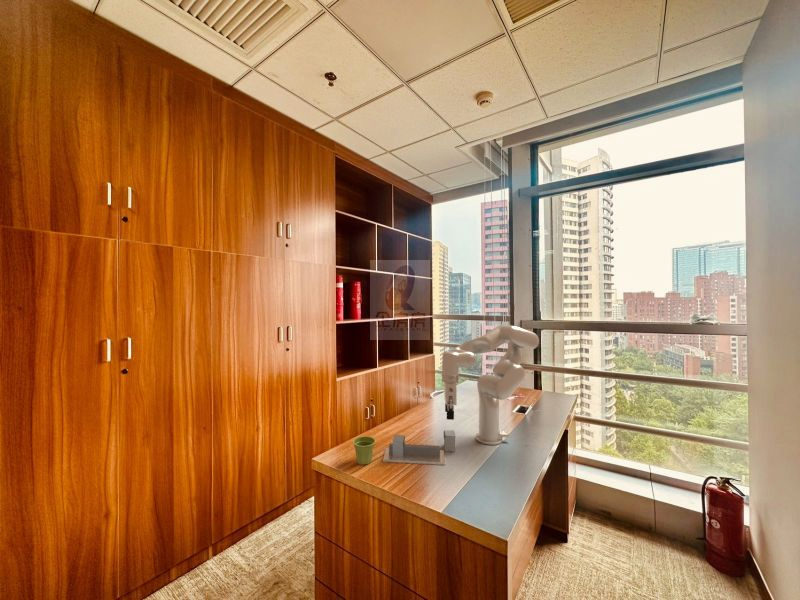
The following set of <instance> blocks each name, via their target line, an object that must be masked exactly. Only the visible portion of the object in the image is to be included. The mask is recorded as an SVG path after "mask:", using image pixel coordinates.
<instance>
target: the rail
mask: <svg viewBox="0 0 800 600" xmlns="http://www.w3.org/2000/svg"><path fill="white" fill-rule="evenodd" d="M382 462H383V463H399V464H415V465H416V464H419V465H423V464H424V465H436V466H437V465H438V466H439V465H441V466H446V458H445V449H441V445H432V444H431V445H430V444H429V445H427V444H411V443H410V444H409V443H407V444H406V435H404V434H393V438H392V443H389V444H388V446H387V447H386V448H385V451H384V454H383V459H382Z"/></svg>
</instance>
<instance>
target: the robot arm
mask: <svg viewBox="0 0 800 600" xmlns="http://www.w3.org/2000/svg"><path fill="white" fill-rule="evenodd" d="M505 343H507V351H506V352H505V353H504V354H503V356H502V357H501V358H500V359H499V360H498V361H497V363H496V364H494V366H493V367H492V373H493V375H492V374H482V375H480V377H479V378H478V379H477V383H476V384H477V385H476V386H477V392H478V402H479V403H478V407H479V408H478V433H476V434H475V439H476V441H477V442H479V443H481V444H483V445H488V446H496V445H500V444H502V443H503V438H510V433H508V432H507V433H506V432H505V431H500V401H505V400H507V399H508V398H510V397H511V396H512V395H513V394H514V392H515V391H516V390H517V389H518V387H520V385H521V384H522V383H523V381H524V379H525V377H526V376H525V374H526V373H525V369H524V367H523V366H522V365H521V363H522V361H523V358H524V357H523V352H522V351H523V349H526V350H534V349H537V347H538V346H539V344H540V339H539V335H537V334H536V333H535V332H533V331H530V330H527V329H524V328H523V327H519V326H516V325H509V324H501V325H497V326H496V327H494V328H493V329H491V330H490V331H488V332H486V333H484V334H483V335H481V336H480V337H476V338H473V339H470V340H466V341H465V342H463V343H461V344H459V345H458V346H456V347H454V348H453V349H452V350H446V351H444V352H443V353H442V360H441V361H442V363H441V364H442V368H441V381H442V383H443V384H444V385H443V386H444V388H443V391H444V394H443V395H444V402H445V404H444V406H445V407H444V412H446V420H452V421H454V420H455V410H454V409H455V408H454V407H455V406H457V396H458V395H457V393H458V391H457V384H458V383H459V374H460V373H459V371H460V370H459V369H460V368H464V369H465V368H466V369H467V368H473V367H474V366H475V365H476V364H477V356H476V354H477V355H478V354H487V353H491V352H493V351H494V350H496V349H497V348H498V347H500V346H502V345H503V344H505ZM499 400H500V401H499Z"/></svg>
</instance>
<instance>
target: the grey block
mask: <svg viewBox="0 0 800 600" xmlns="http://www.w3.org/2000/svg"><path fill="white" fill-rule="evenodd" d="M443 439H444V441H443V445H444V452H456V432H455V430H453V429H452V430H450V429H444V430H443Z"/></svg>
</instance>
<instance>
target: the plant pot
mask: <svg viewBox="0 0 800 600" xmlns="http://www.w3.org/2000/svg"><path fill="white" fill-rule="evenodd" d="M352 444H353V447H354V450H355V451H354V452H355V457H356V463H357V464H358V465H362V466H363V465H369V464H371V463H372V458H373V453H374V447H375V444H376V439H375V438H374V437H372V436H370V435H369V436H367V435H366V436H365V435H361V436H358V437H356V438H354V439H353V440H352Z"/></svg>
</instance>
